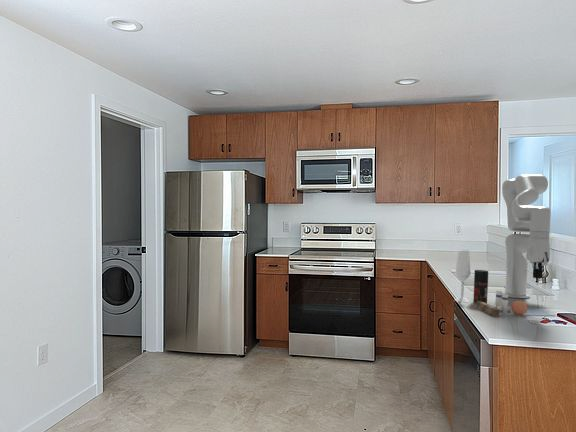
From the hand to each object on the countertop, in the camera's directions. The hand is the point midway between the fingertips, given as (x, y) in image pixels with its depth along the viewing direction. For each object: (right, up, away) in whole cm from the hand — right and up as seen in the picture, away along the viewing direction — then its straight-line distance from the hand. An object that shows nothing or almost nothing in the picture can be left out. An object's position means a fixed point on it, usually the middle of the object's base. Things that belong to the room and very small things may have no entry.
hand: (537, 277), depth 195 cm
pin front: (-12, -14, 0) cm, 18 cm away
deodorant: (-17, -14, +18) cm, 29 cm away
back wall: (-22, -15, 0) cm, 26 cm away
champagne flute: (-24, -14, +21) cm, 35 cm away
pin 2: (-16, -15, -3) cm, 22 cm away
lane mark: (-8, -15, 0) cm, 17 cm away
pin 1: (-16, -15, +2) cm, 22 cm away
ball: (-10, -12, -4) cm, 16 cm away
